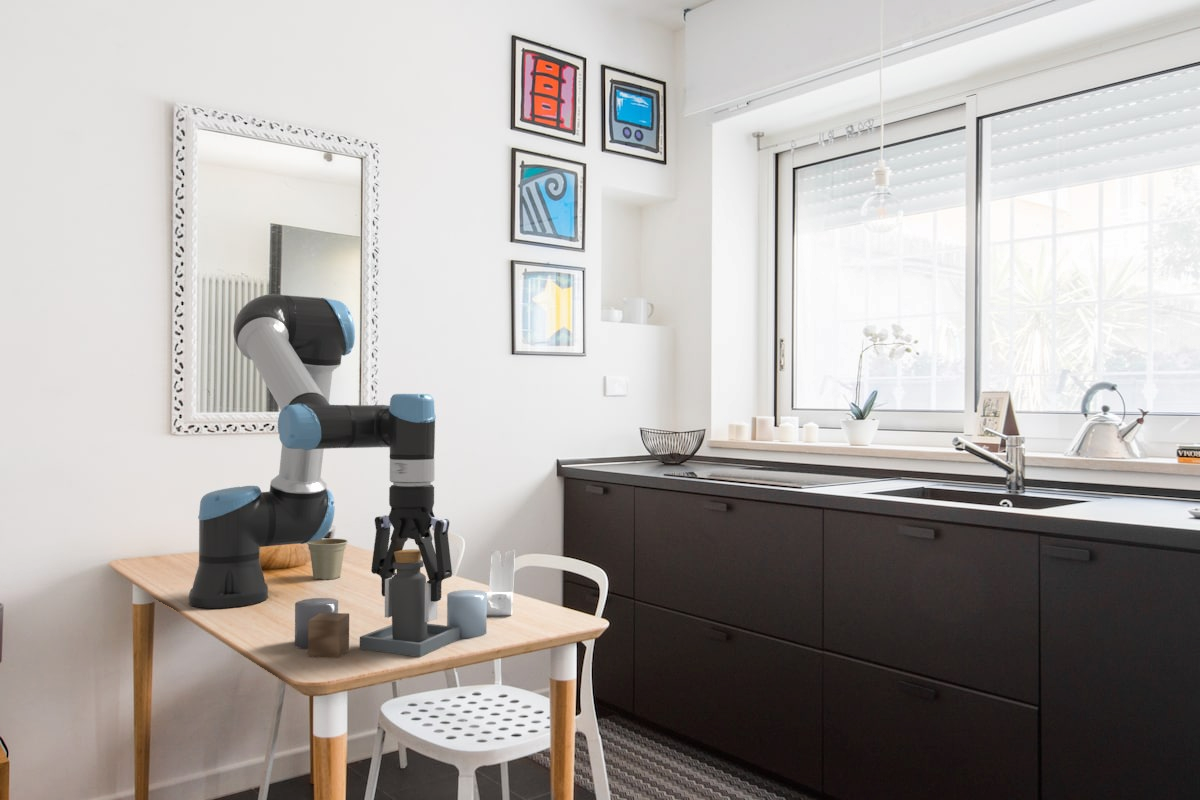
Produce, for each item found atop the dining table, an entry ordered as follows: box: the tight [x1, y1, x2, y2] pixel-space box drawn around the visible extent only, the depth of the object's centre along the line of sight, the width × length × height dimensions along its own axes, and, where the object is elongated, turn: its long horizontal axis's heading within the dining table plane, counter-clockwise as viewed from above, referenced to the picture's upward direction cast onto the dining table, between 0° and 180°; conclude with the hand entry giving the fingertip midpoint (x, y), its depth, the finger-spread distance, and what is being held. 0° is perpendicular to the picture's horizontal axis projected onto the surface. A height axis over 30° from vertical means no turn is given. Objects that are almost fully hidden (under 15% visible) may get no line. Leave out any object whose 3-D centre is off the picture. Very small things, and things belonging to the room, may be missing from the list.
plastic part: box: [485, 549, 516, 617], centre depth 171 cm, size 8×10×12 cm
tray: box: [359, 623, 461, 658], centre depth 147 cm, size 12×12×2 cm
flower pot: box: [306, 538, 349, 581], centre depth 204 cm, size 9×9×9 cm
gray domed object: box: [294, 597, 339, 650], centre depth 147 cm, size 7×7×7 cm
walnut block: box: [307, 612, 350, 659], centre depth 141 cm, size 5×5×6 cm
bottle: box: [391, 548, 428, 642], centre depth 147 cm, size 6×6×15 cm
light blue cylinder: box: [446, 589, 488, 639], centre depth 154 cm, size 7×7×7 cm
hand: (410, 617), depth 147 cm, fingers open, 7 cm apart
